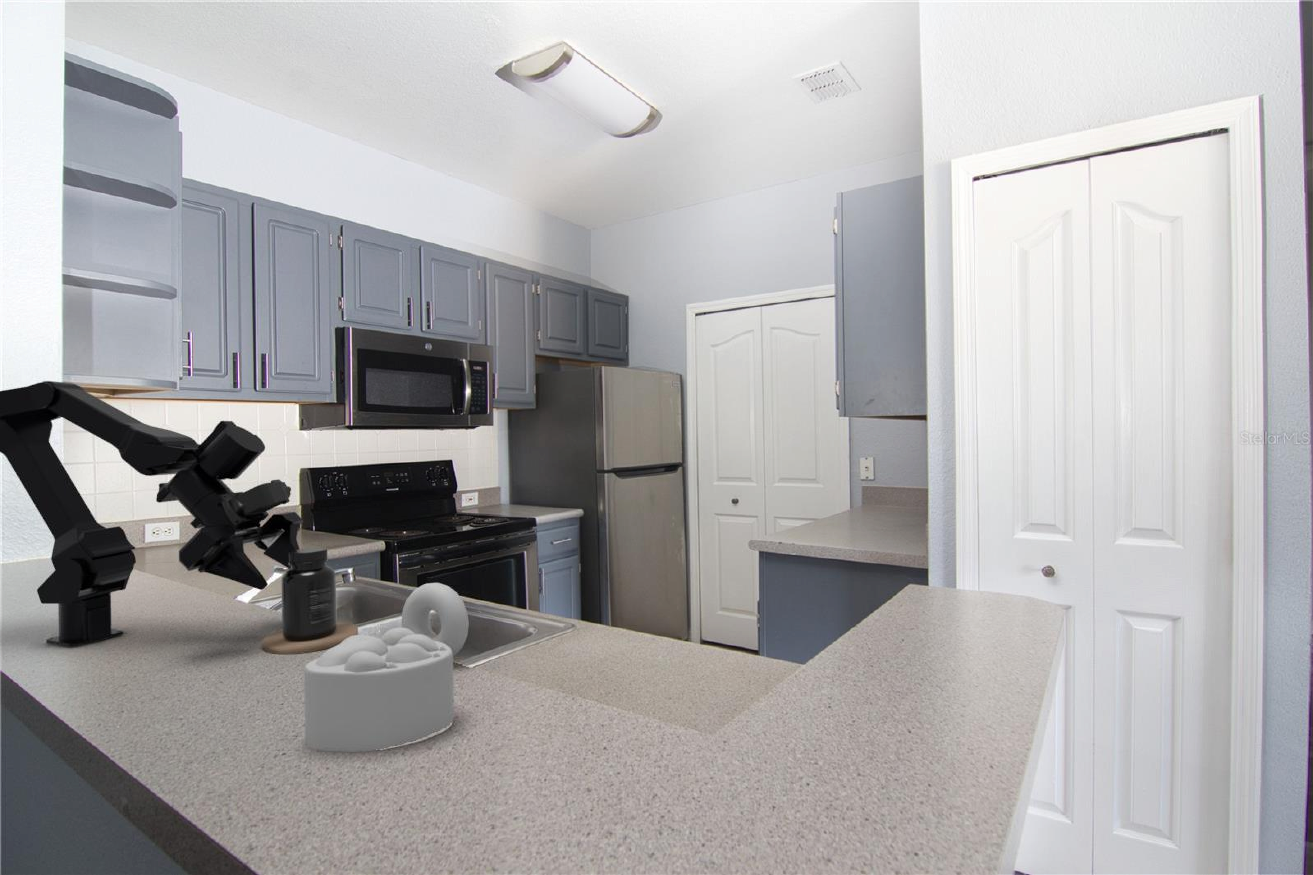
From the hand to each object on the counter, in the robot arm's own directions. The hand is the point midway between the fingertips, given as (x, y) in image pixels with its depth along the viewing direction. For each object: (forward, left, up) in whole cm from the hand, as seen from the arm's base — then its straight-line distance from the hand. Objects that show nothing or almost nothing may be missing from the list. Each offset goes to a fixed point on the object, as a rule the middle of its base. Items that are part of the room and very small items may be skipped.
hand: (286, 579), depth 91 cm
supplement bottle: (+3, +1, -8) cm, 9 cm away
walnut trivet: (+3, +1, -9) cm, 9 cm away
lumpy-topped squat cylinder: (+35, -16, -9) cm, 39 cm away
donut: (+26, 0, -9) cm, 28 cm away
